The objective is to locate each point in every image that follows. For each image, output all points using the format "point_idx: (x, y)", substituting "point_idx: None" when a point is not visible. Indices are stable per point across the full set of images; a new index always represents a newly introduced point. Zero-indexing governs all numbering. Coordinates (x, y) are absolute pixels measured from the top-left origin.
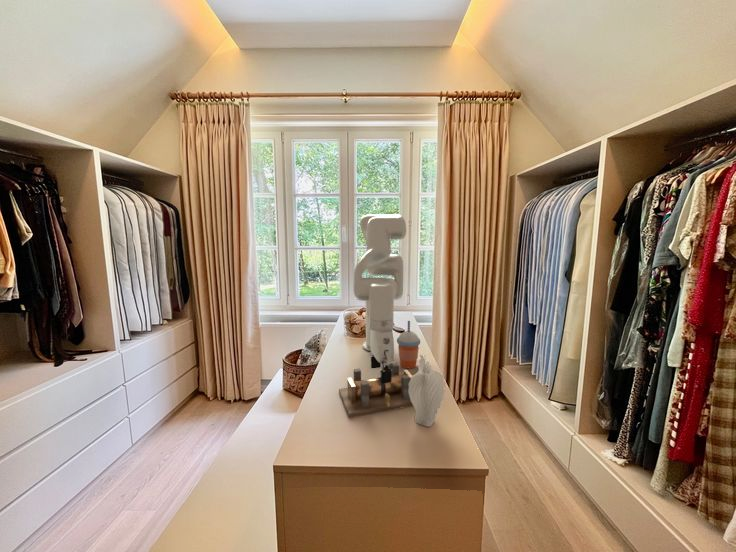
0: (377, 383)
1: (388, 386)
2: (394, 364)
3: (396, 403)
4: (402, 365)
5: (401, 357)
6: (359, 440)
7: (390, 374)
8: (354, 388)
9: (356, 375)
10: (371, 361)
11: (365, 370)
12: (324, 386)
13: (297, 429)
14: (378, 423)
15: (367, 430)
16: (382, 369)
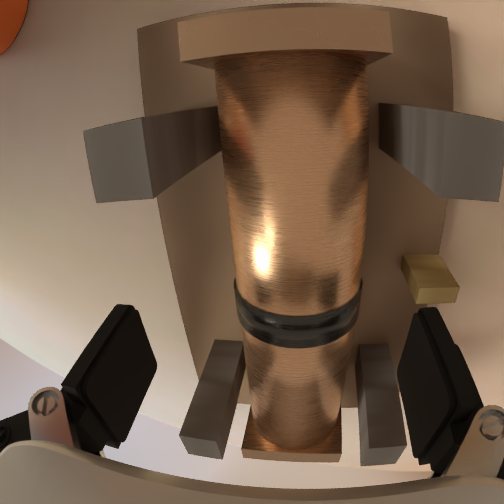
0: (336, 353)
1: (361, 266)
2: (105, 168)
3: (431, 208)
4: (3, 46)
5: None
6: (496, 376)
7: (456, 368)
8: (340, 445)
9: (226, 434)
10: (132, 415)
11: (29, 240)
12: (161, 405)
13: (367, 467)
14: (477, 316)
15: (481, 354)
16: (438, 472)
